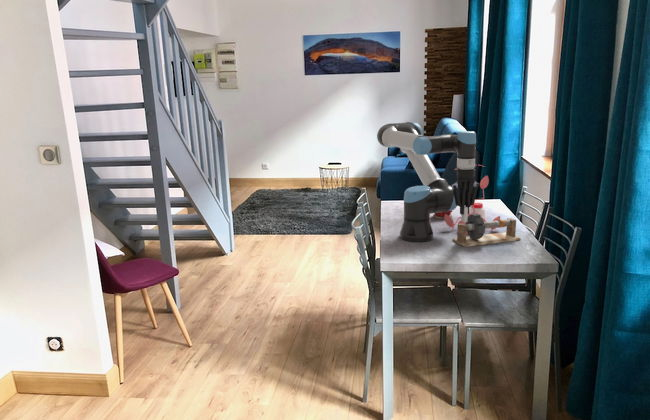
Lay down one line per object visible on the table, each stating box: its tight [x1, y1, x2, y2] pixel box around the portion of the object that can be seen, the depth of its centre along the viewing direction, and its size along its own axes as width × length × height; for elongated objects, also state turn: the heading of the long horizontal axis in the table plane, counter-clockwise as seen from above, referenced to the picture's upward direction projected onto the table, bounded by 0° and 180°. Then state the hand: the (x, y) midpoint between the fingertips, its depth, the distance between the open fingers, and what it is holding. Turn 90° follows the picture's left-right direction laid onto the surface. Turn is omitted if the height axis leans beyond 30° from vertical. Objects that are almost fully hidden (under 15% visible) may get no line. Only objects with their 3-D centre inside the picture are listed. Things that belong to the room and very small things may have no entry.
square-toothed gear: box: [466, 213, 486, 240], centre depth 232 cm, size 3×11×11 cm, turn 16°
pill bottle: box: [469, 202, 486, 220], centre depth 258 cm, size 8×8×11 cm
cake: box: [432, 210, 453, 220], centre depth 274 cm, size 11×9×18 cm
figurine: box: [444, 164, 501, 235], centre depth 252 cm, size 15×26×35 cm
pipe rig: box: [452, 217, 521, 248], centre depth 234 cm, size 28×10×9 cm, turn 106°
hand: (464, 221), depth 230 cm, fingers closed
